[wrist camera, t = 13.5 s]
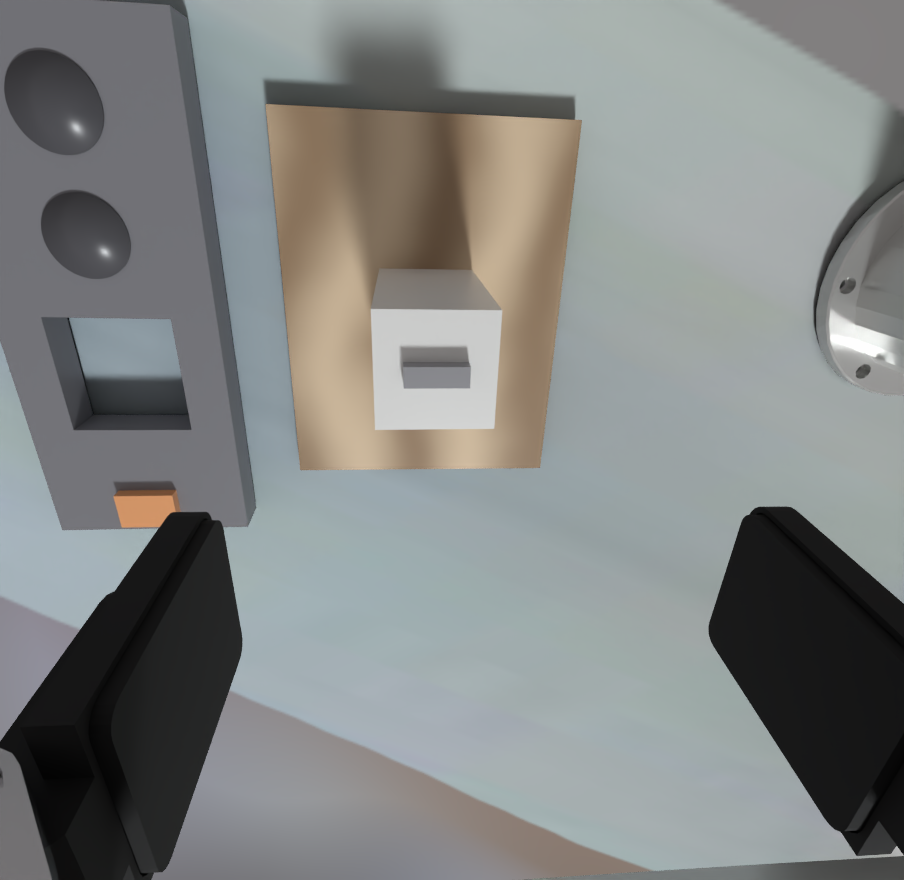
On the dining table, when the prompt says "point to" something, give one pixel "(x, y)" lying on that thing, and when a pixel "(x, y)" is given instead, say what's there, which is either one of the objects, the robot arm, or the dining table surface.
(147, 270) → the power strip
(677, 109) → the dining table surface
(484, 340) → the block
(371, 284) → the wooden board
